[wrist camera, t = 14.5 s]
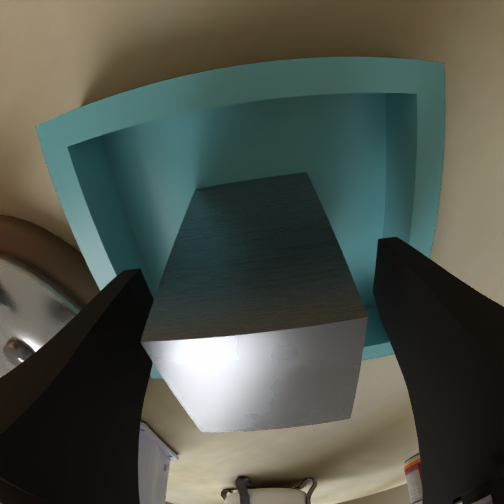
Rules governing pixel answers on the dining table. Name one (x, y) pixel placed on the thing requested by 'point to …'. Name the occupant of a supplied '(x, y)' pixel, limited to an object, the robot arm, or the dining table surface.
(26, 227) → the crank base
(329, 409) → the block
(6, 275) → the crank
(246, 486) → the coffee press
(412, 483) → the pill bottle
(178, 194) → the tray
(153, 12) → the dining table surface
